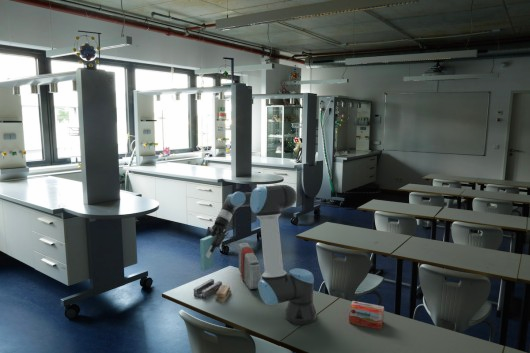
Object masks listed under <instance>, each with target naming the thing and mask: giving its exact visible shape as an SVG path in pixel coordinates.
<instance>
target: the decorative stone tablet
mask: <svg viewBox="0 0 530 353" xmlns="http://www.w3.org/2000/svg"><path fill="white" fill-rule="evenodd" d="M238 271H239V272H240V276H241V279H242V281H243V282H244V283H245V284H246V286H247V288H249V290H255V289H258V284H259V281H260V280H262V274H261V273H262V272H261V271H262V270H261V268H260V263H259V260H258V258H257V256H256V255H255V251H254V249H253V248H251V247H250V245H249V243H248V242H240V243H239V244H238Z"/></svg>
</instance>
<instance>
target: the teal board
mask: <svg viewBox="0 0 530 353" xmlns="http://www.w3.org/2000/svg"><path fill="white" fill-rule="evenodd" d="M199 242H200V243H199V247H200V248H199V249H200V251H199V253H200V271H203V272H205V271H207V270H209V269H211V268H213V267H214V265H215V255H214V252H215V250H214V251H213V253H211V255H210V257H209V258H207V257H206V254H207V252H208V250H209V248H210V246H211V245H212V244H213V242H214V238H213V236H208V237H205V236H204V237H202V238H201V239H199ZM212 246H213V245H212Z"/></svg>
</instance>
